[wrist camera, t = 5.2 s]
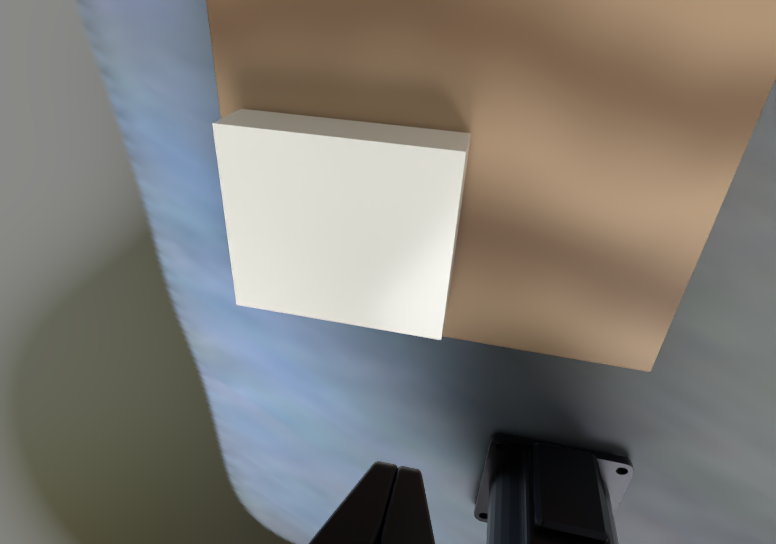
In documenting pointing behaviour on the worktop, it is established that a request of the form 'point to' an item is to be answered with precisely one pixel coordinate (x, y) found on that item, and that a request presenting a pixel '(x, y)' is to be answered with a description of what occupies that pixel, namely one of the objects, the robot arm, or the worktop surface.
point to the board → (537, 140)
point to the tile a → (342, 217)
